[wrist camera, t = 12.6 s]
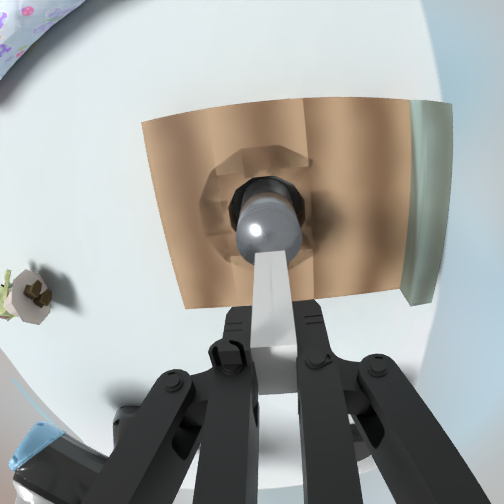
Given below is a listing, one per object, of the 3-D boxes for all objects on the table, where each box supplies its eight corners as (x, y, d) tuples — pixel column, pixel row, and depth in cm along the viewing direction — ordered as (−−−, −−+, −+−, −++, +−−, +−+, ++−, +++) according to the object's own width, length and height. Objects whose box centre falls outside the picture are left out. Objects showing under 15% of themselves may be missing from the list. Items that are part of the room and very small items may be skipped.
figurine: (29, 250, 28) (-15, 271, 31) (5, 300, 23) (-33, 310, 26) (71, 291, 34) (19, 302, 37) (56, 339, 29) (6, 341, 32)
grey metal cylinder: (246, 226, 28) (240, 271, 21) (239, 181, 26) (230, 212, 19) (292, 221, 28) (303, 264, 20) (288, 176, 26) (299, 204, 18)
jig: (191, 292, 32) (178, 328, 26) (153, 120, 23) (125, 125, 18) (408, 270, 30) (431, 302, 24) (416, 101, 21) (452, 103, 16)
